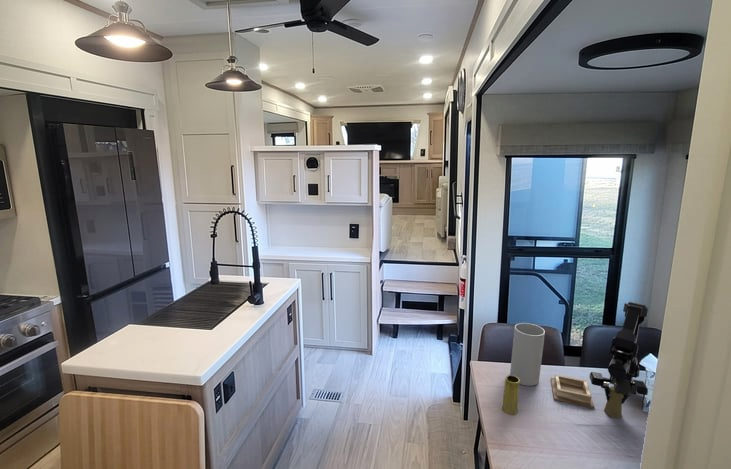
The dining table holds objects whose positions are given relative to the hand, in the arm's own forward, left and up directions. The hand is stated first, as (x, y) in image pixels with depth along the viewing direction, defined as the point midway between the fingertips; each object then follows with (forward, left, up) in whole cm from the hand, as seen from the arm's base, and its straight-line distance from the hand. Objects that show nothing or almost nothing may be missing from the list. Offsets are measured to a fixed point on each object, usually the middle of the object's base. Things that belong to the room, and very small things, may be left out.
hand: (614, 401), depth 151 cm
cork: (0, 0, -5) cm, 5 cm away
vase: (+14, -39, -5) cm, 42 cm away
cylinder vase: (-12, -33, -5) cm, 35 cm away
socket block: (-8, -14, -5) cm, 17 cm away
